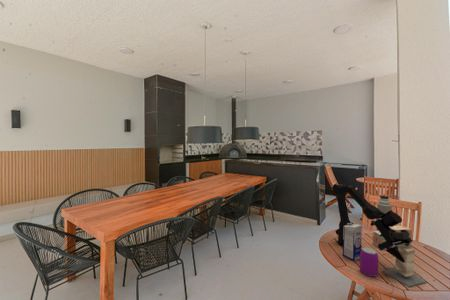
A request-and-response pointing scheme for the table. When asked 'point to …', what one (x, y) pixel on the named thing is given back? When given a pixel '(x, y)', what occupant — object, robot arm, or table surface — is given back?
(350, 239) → the milk carton
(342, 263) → the table surface
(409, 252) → the birch block
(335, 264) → the table surface
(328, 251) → the table surface
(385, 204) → the thermos bottle
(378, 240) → the stack of blocks
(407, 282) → the charcoal board
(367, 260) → the beverage can
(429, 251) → the table surface
